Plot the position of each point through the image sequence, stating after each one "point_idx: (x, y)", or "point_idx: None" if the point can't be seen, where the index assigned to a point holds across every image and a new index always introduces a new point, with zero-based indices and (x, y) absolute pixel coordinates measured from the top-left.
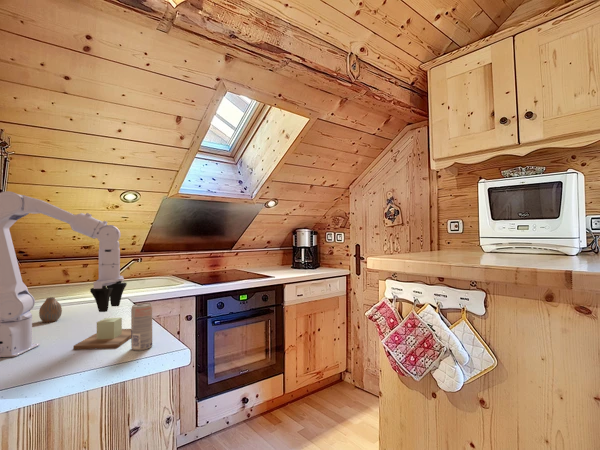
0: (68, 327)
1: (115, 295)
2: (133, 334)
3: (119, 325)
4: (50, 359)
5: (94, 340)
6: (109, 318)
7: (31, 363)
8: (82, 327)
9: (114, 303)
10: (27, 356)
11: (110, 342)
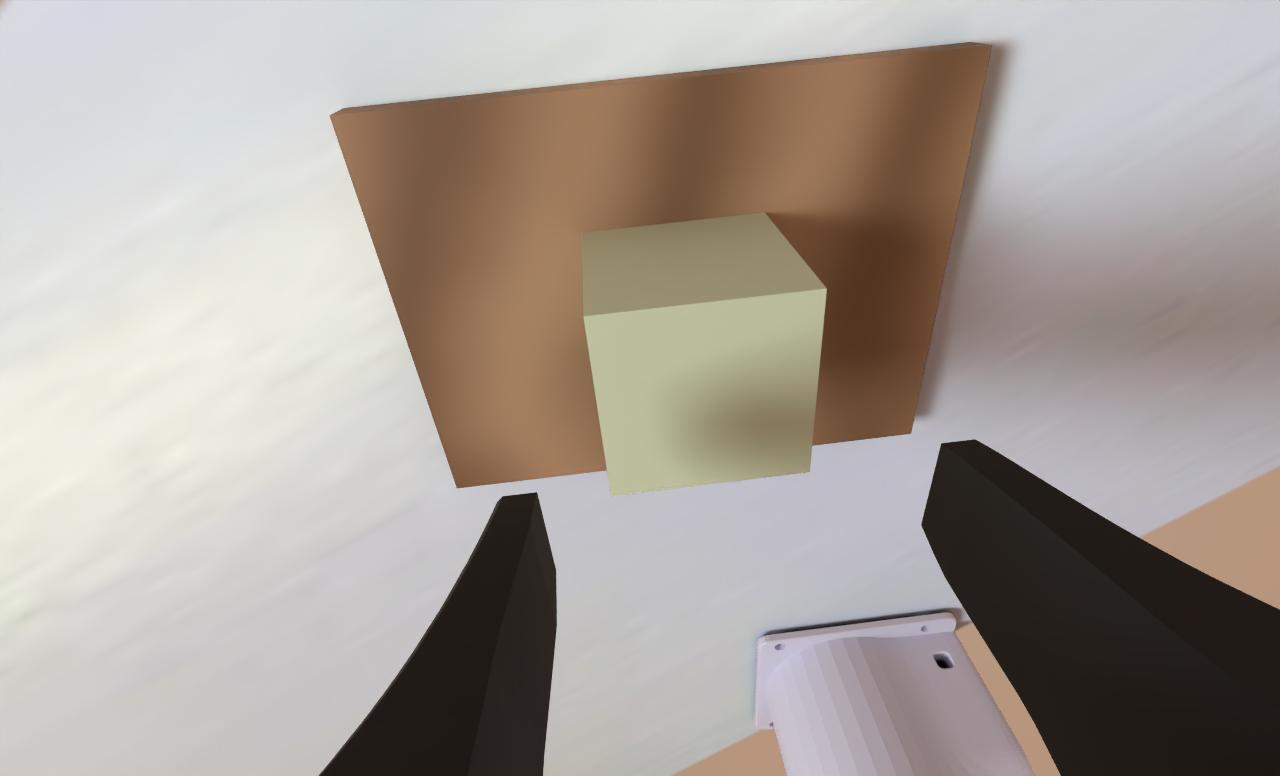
0: None
1: (515, 722)
2: None
3: (647, 269)
4: (1077, 425)
5: None
6: (628, 443)
7: (1109, 477)
8: (343, 664)
9: (544, 578)
10: None
11: (901, 173)
